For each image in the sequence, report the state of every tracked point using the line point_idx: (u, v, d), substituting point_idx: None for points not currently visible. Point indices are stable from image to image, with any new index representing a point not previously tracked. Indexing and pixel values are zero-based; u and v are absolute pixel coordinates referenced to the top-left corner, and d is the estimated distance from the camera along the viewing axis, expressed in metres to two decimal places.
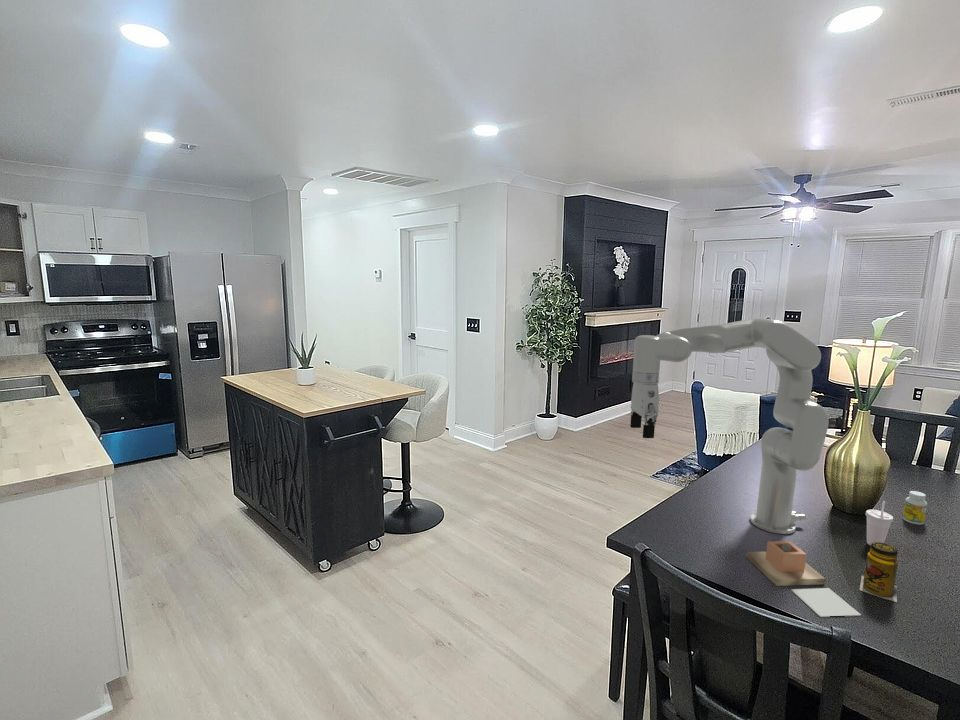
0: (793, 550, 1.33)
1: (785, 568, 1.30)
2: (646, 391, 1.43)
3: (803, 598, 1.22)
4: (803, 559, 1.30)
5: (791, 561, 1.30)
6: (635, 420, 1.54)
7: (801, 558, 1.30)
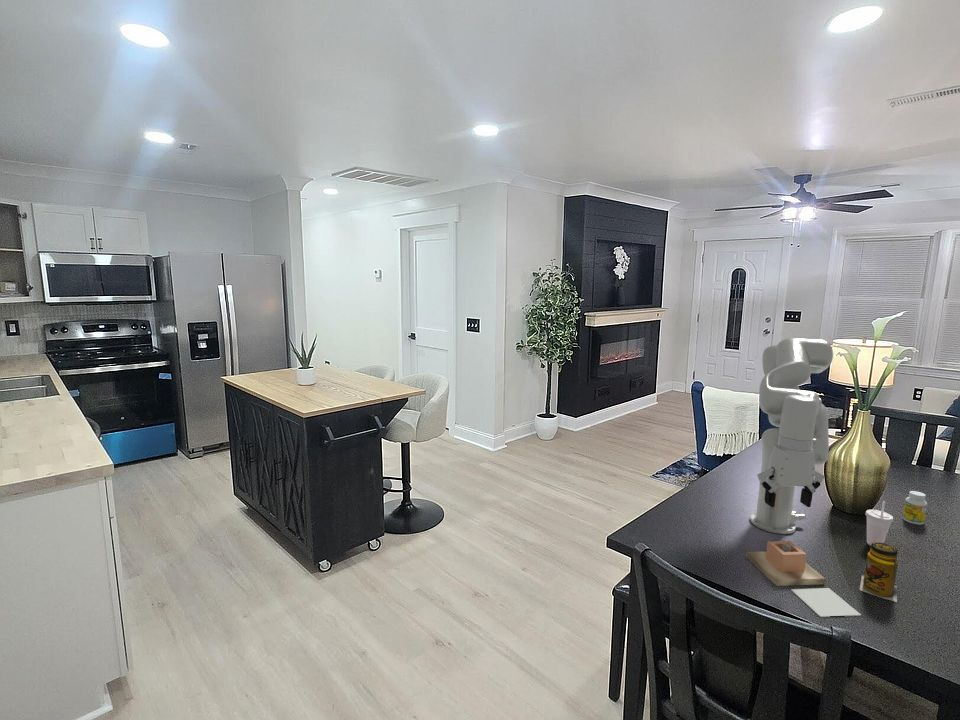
0: (793, 550, 1.33)
1: (785, 568, 1.30)
2: None
3: (803, 598, 1.22)
4: (803, 559, 1.30)
5: (791, 561, 1.30)
6: None
7: (801, 558, 1.30)
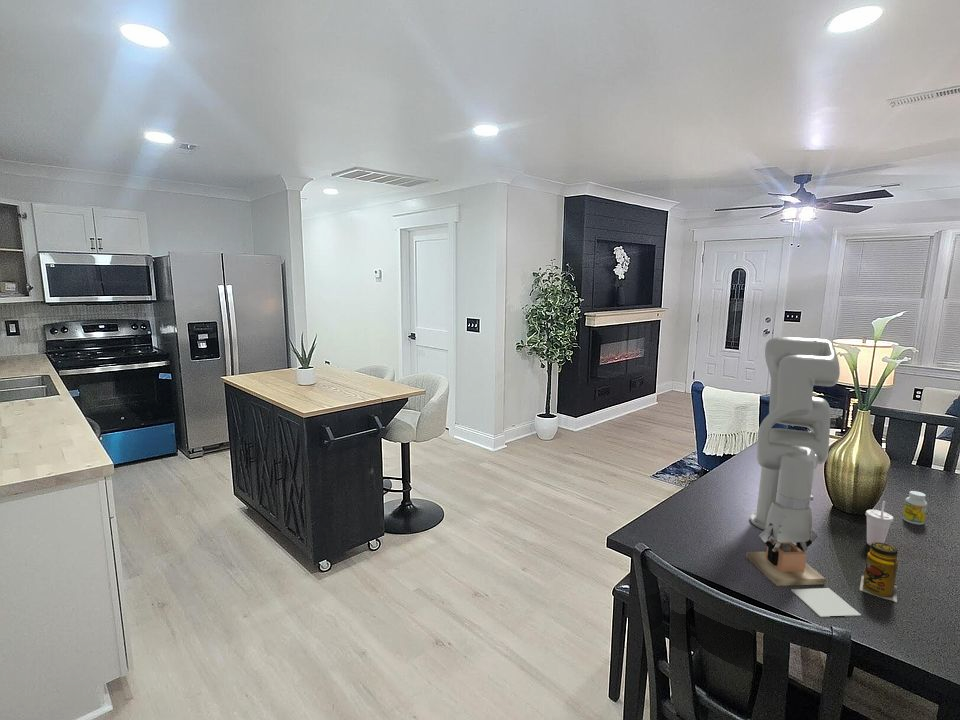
0: (793, 550, 1.33)
1: (785, 568, 1.30)
2: None
3: (803, 598, 1.22)
4: (803, 559, 1.30)
5: (791, 561, 1.30)
6: None
7: (801, 558, 1.30)
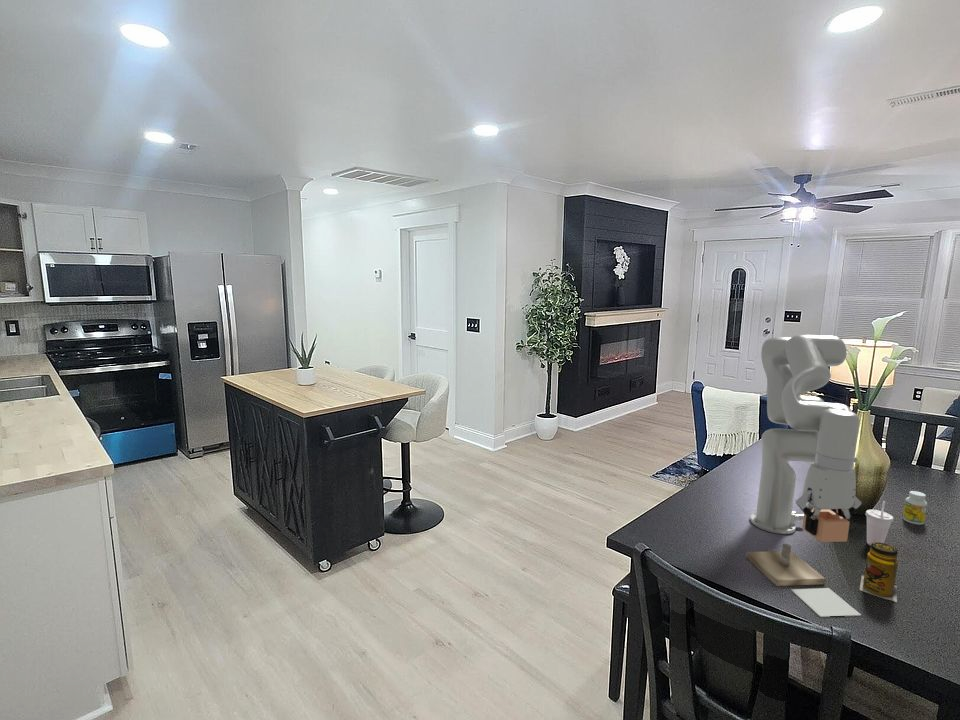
0: (834, 518, 1.20)
1: (826, 537, 1.17)
2: None
3: (803, 598, 1.22)
4: (846, 528, 1.17)
5: (832, 530, 1.17)
6: None
7: (844, 526, 1.17)
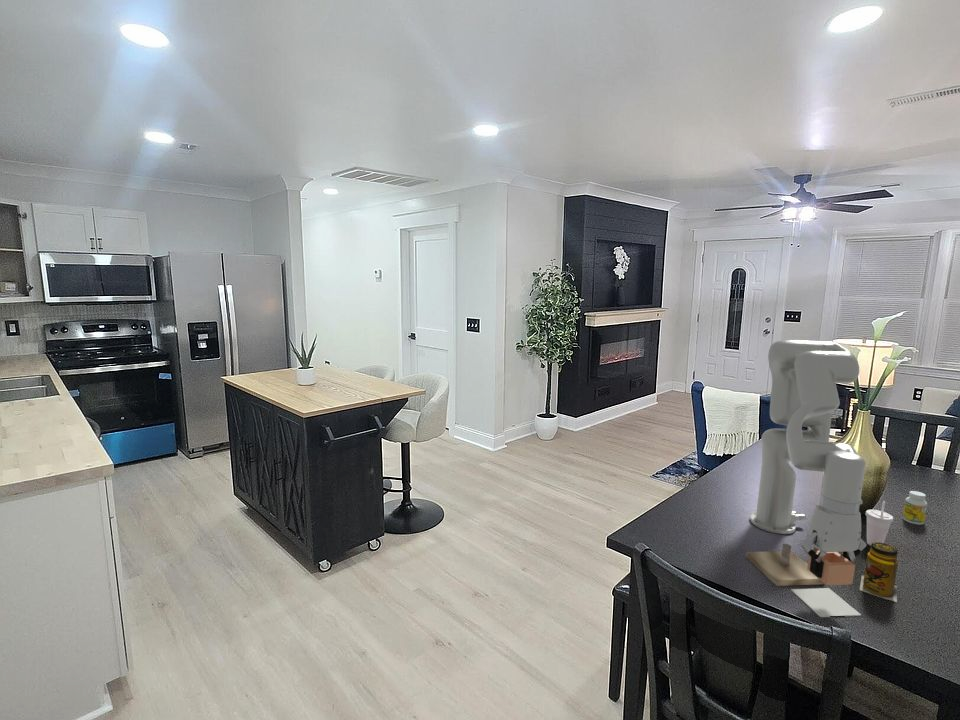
0: (839, 560, 1.19)
1: (831, 581, 1.16)
2: None
3: (803, 598, 1.22)
4: (851, 571, 1.16)
5: (838, 573, 1.16)
6: None
7: (849, 569, 1.16)
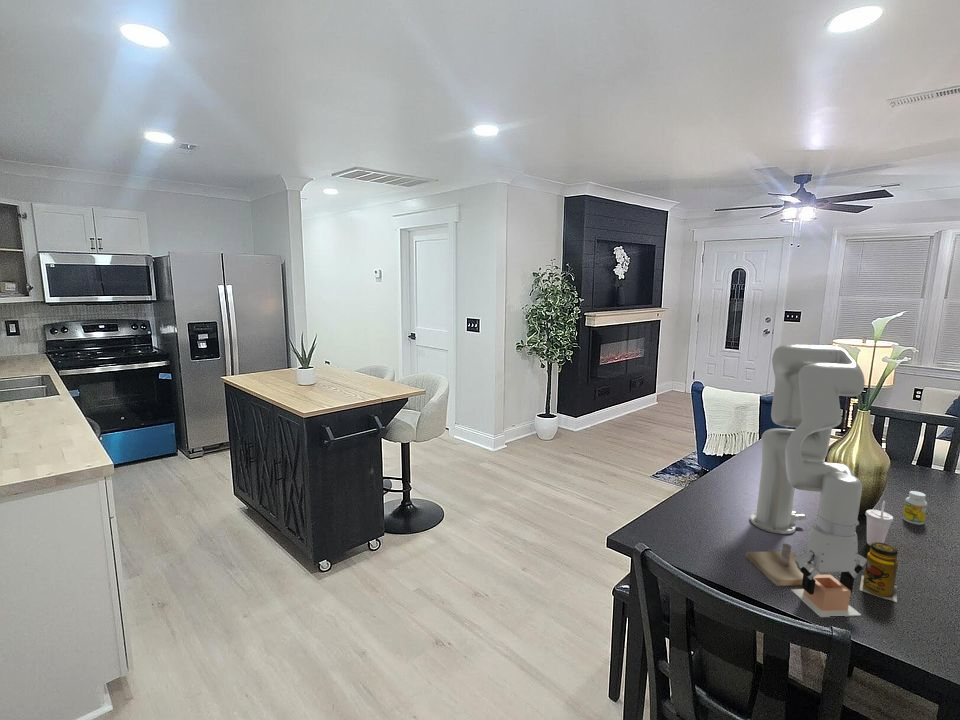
0: (835, 585, 1.20)
1: (827, 606, 1.18)
2: None
3: (803, 598, 1.22)
4: (847, 596, 1.17)
5: (834, 599, 1.17)
6: None
7: (845, 595, 1.17)
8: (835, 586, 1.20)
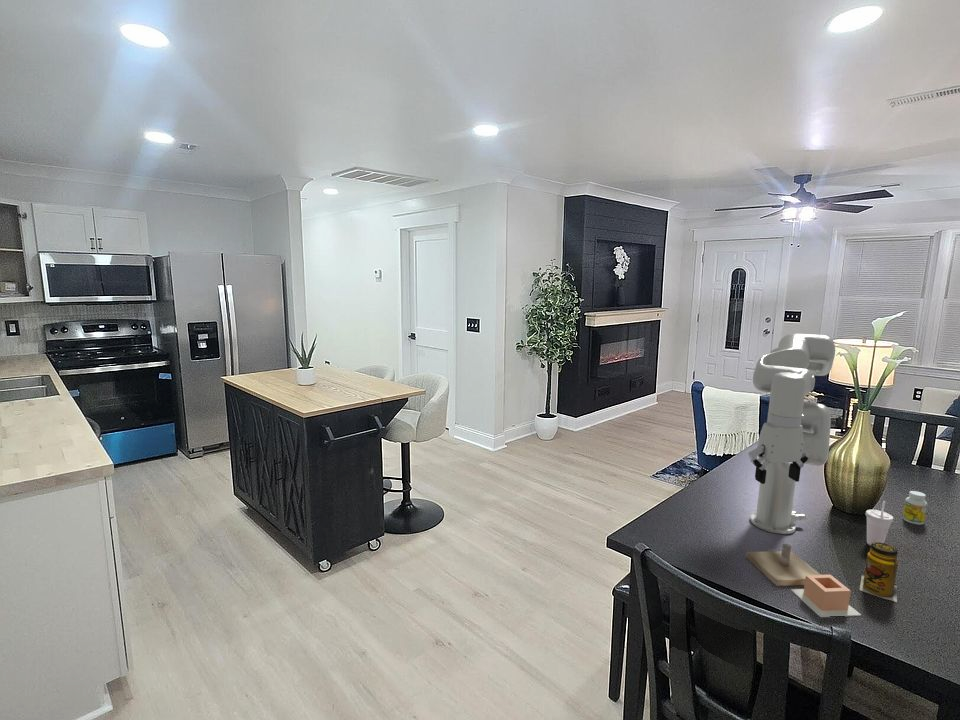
0: (835, 585, 1.20)
1: (827, 606, 1.18)
2: None
3: (803, 598, 1.22)
4: (847, 596, 1.17)
5: (834, 599, 1.17)
6: None
7: (845, 595, 1.17)
8: (835, 586, 1.20)
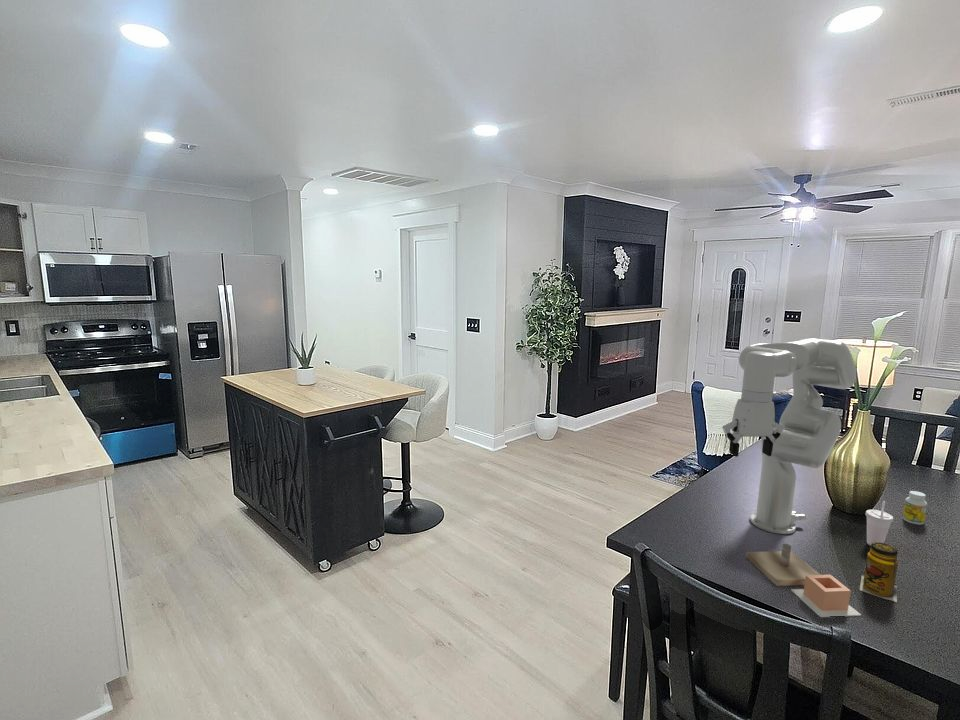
0: (835, 585, 1.20)
1: (827, 606, 1.18)
2: (773, 408, 1.37)
3: (803, 598, 1.22)
4: (847, 596, 1.17)
5: (834, 599, 1.17)
6: None
7: (845, 595, 1.17)
8: (835, 586, 1.20)
